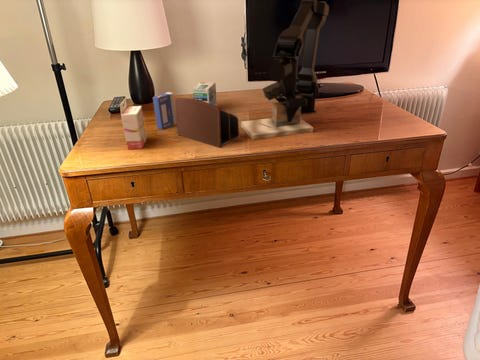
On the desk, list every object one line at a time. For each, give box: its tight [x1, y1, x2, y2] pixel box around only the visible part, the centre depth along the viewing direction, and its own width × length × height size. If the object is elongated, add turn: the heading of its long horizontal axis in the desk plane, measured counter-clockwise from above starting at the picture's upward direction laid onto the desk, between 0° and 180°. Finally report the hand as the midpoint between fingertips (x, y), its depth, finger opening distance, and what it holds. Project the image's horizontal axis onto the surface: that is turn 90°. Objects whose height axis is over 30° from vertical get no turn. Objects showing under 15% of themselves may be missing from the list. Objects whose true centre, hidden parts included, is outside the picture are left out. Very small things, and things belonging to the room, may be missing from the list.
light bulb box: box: [192, 81, 218, 107], centre depth 139 cm, size 11×7×11 cm, turn 168°
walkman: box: [152, 91, 177, 131], centre depth 125 cm, size 8×3×12 cm, turn 144°
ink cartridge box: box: [119, 97, 147, 150], centre depth 110 cm, size 9×5×15 cm, turn 5°
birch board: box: [240, 117, 314, 140], centre depth 122 cm, size 22×14×2 cm, turn 106°
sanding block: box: [271, 101, 302, 126], centre depth 121 cm, size 9×4×7 cm, turn 106°
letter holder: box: [174, 97, 240, 149], centre depth 115 cm, size 10×20×14 cm, turn 52°
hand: (286, 119), depth 122 cm, fingers closed on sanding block, 4 cm apart
